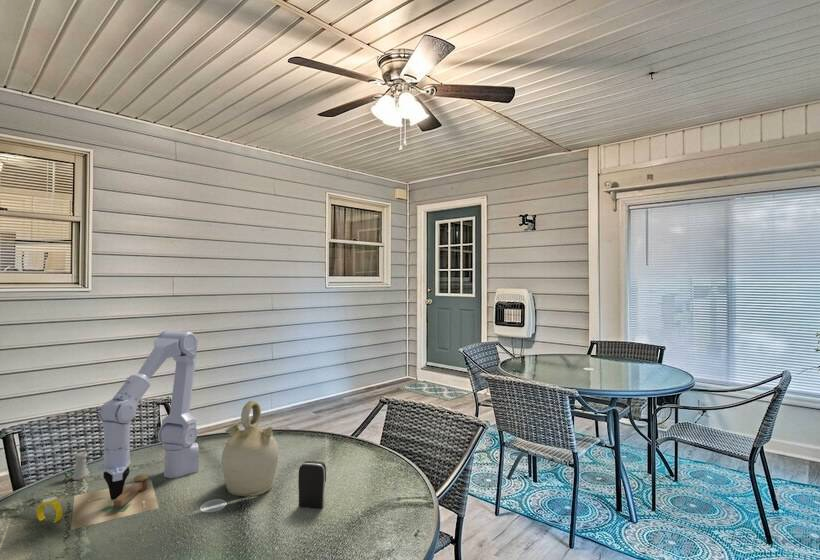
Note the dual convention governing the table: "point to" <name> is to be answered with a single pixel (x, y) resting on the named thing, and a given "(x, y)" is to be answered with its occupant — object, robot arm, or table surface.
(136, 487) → the peg lever
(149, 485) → the tan wooden board
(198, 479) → the table surface
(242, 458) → the jug
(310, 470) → the battery charger
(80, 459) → the rook chess piece
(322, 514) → the table surface
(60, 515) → the watch
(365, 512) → the table surface
